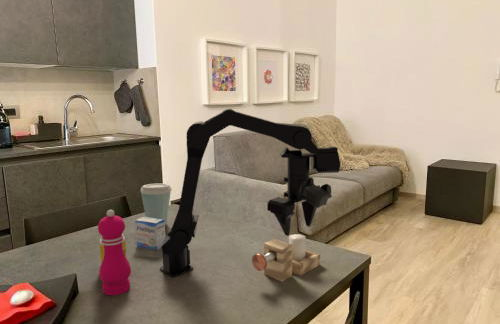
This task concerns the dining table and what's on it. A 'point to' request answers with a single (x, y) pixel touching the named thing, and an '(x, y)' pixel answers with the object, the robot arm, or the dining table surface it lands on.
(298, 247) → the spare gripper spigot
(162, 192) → the disposable coffee cup
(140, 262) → the dining table surface
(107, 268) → the pepper mill
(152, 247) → the medicine box
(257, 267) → the lock pin
